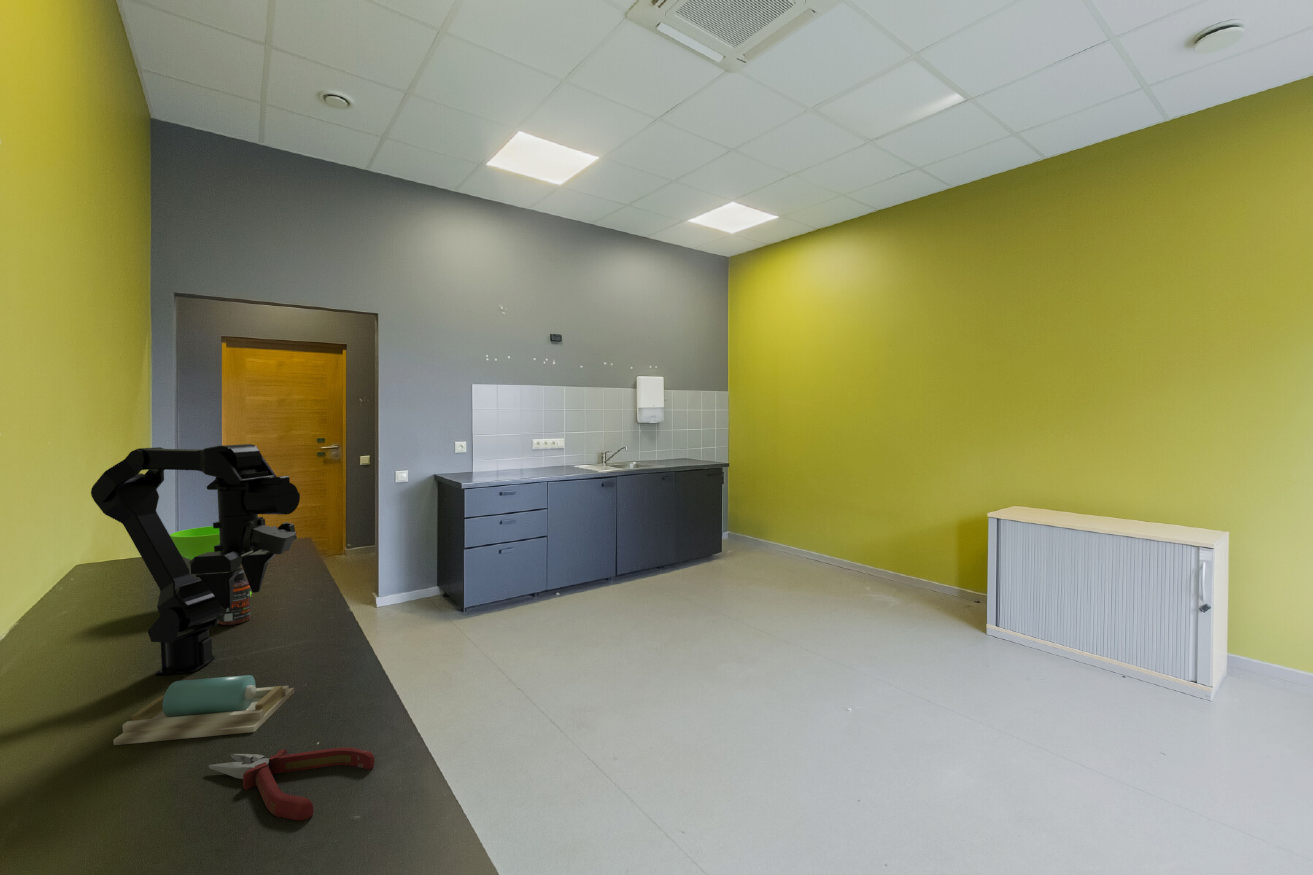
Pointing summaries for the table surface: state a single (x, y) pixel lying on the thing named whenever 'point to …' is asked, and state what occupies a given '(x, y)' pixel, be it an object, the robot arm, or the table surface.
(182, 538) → the green tapered container
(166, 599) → the robot arm
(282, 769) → the pliers
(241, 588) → the supplement bottle
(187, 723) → the wooden tray
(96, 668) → the table surface
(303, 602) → the table surface
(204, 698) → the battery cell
